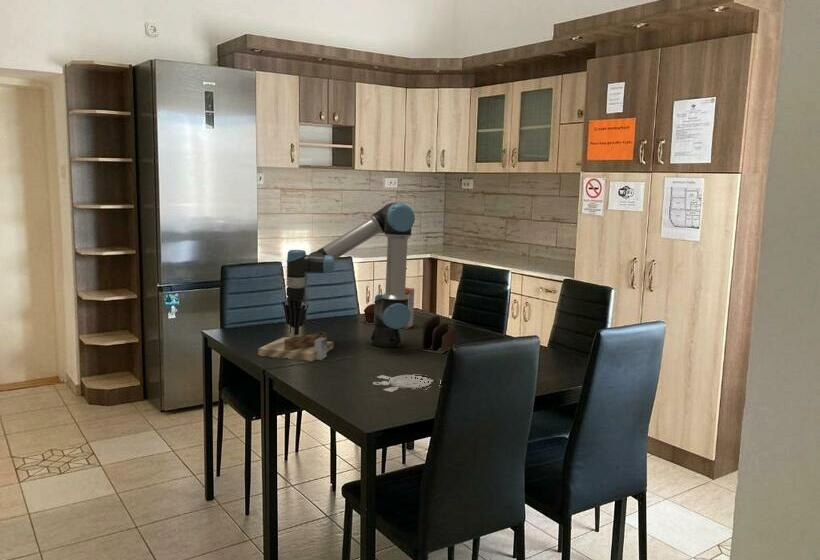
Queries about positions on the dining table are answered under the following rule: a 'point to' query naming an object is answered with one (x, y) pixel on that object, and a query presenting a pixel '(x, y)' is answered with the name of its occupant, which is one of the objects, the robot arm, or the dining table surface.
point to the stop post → (320, 348)
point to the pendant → (405, 382)
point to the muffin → (369, 313)
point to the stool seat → (289, 351)
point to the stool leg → (303, 341)
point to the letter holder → (437, 335)
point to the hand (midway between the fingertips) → (294, 341)
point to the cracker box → (410, 304)
